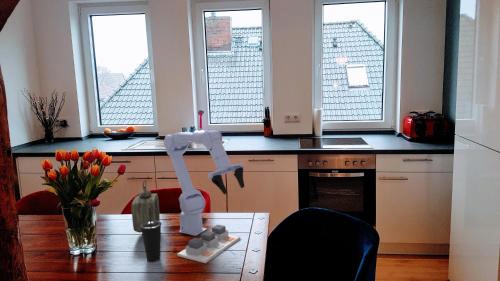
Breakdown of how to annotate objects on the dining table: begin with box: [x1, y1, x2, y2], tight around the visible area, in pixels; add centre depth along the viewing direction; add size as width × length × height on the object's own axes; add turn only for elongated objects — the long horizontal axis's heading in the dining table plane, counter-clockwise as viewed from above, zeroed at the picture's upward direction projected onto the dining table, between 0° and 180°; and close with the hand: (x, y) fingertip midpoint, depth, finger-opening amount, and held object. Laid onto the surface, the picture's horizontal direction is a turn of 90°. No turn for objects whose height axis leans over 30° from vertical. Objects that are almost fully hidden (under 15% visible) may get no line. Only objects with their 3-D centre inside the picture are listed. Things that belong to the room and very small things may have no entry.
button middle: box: [200, 230, 215, 241], centre depth 154 cm, size 4×4×3 cm
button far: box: [211, 224, 227, 234], centre depth 160 cm, size 4×4×3 cm
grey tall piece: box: [131, 178, 161, 238], centre depth 165 cm, size 14×9×25 cm, turn 6°
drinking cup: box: [140, 208, 163, 263], centre depth 144 cm, size 8×8×20 cm
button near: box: [188, 237, 204, 249], centre depth 148 cm, size 4×4×3 cm
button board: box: [177, 229, 241, 264], centre depth 154 cm, size 13×24×4 cm, turn 149°
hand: (234, 190), depth 147 cm, fingers open, 7 cm apart
